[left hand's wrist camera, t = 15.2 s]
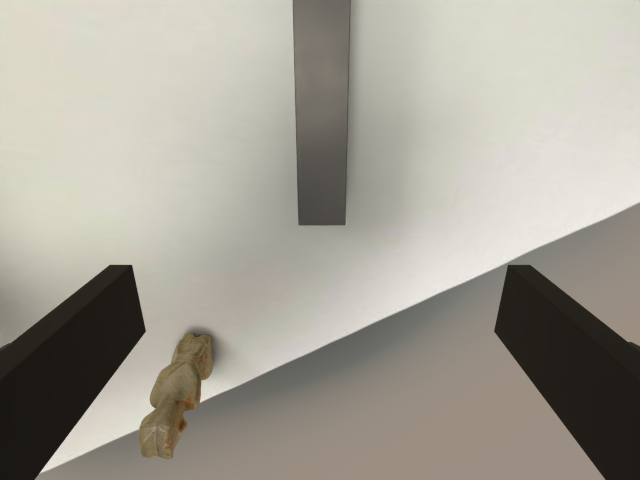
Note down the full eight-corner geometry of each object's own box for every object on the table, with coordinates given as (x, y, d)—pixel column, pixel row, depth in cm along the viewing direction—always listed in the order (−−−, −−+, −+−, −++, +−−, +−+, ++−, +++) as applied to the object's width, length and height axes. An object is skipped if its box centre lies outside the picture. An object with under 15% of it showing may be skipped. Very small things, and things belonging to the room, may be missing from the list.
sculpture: (177, 365, 53) (125, 461, 39) (179, 324, 50) (124, 411, 36) (217, 371, 53) (180, 468, 39) (221, 330, 50) (183, 419, 36)
